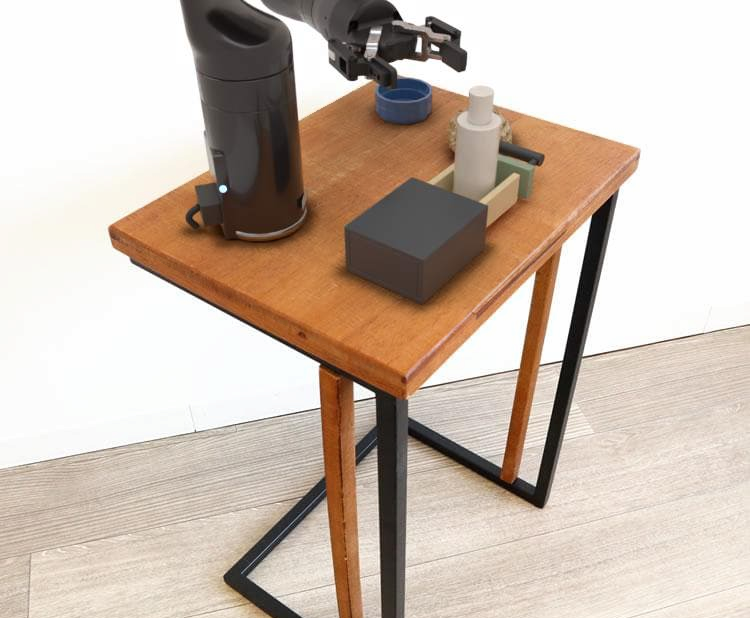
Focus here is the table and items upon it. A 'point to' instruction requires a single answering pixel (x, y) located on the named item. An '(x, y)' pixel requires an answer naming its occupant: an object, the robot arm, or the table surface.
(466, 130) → the bottle
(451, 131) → the seashell
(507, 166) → the drawer
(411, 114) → the bowl
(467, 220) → the cabinet
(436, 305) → the table surface
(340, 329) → the table surface
